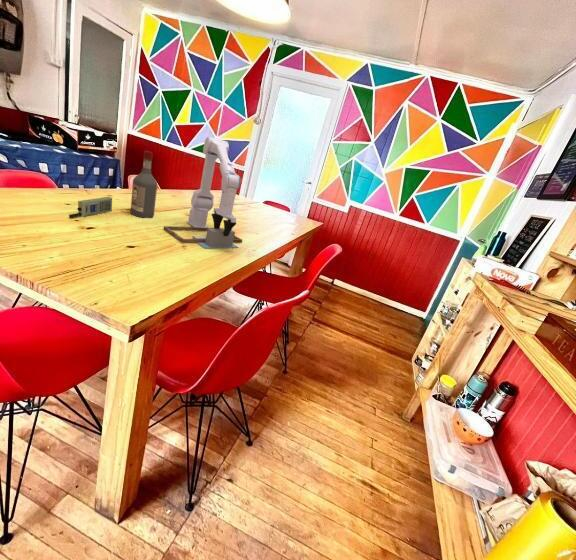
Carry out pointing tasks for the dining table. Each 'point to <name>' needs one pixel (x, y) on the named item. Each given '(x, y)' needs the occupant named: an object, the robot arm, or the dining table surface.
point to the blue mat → (215, 247)
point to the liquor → (144, 190)
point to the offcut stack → (199, 237)
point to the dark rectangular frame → (170, 228)
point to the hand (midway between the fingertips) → (221, 233)
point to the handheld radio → (93, 207)
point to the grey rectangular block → (219, 238)
